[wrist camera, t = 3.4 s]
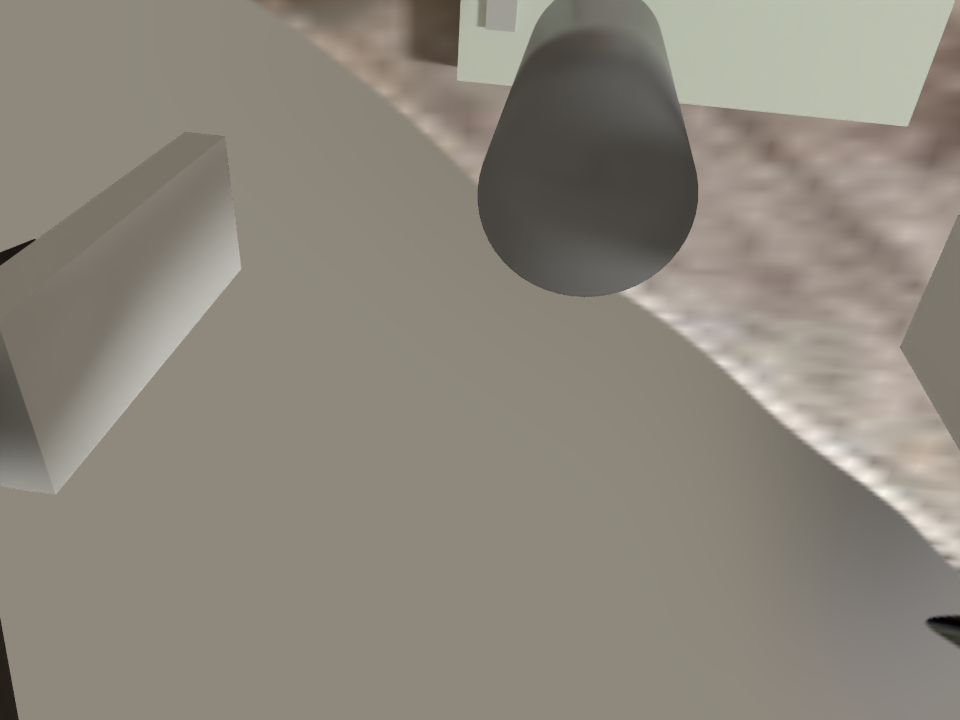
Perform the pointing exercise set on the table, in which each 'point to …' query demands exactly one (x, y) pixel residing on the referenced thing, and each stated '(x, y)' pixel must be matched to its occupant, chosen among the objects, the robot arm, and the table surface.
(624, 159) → the cap
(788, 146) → the table surface
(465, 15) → the coupling base
